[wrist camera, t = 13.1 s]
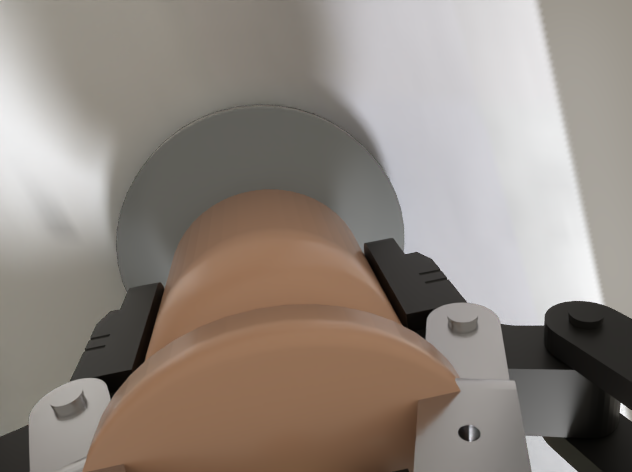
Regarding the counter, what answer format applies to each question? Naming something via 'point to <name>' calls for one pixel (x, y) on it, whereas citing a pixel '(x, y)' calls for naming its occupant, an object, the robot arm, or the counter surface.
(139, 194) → the slate saucer
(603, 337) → the robot arm
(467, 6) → the counter surface
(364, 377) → the terracotta pot
